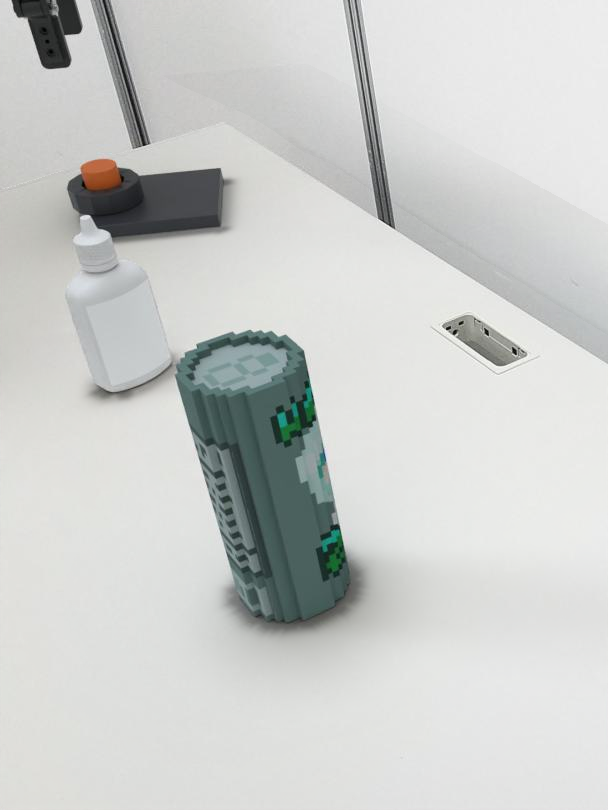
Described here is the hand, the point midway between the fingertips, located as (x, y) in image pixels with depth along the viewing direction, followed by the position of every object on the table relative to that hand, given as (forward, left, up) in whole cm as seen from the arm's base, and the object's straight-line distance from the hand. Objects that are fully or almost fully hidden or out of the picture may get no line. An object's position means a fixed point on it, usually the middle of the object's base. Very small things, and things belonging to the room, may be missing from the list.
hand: (64, 49), depth 100 cm
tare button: (0, 0, -11) cm, 11 cm away
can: (+15, -54, -14) cm, 58 cm away
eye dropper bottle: (+4, -28, -14) cm, 32 cm away
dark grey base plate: (+4, 0, -14) cm, 15 cm away
